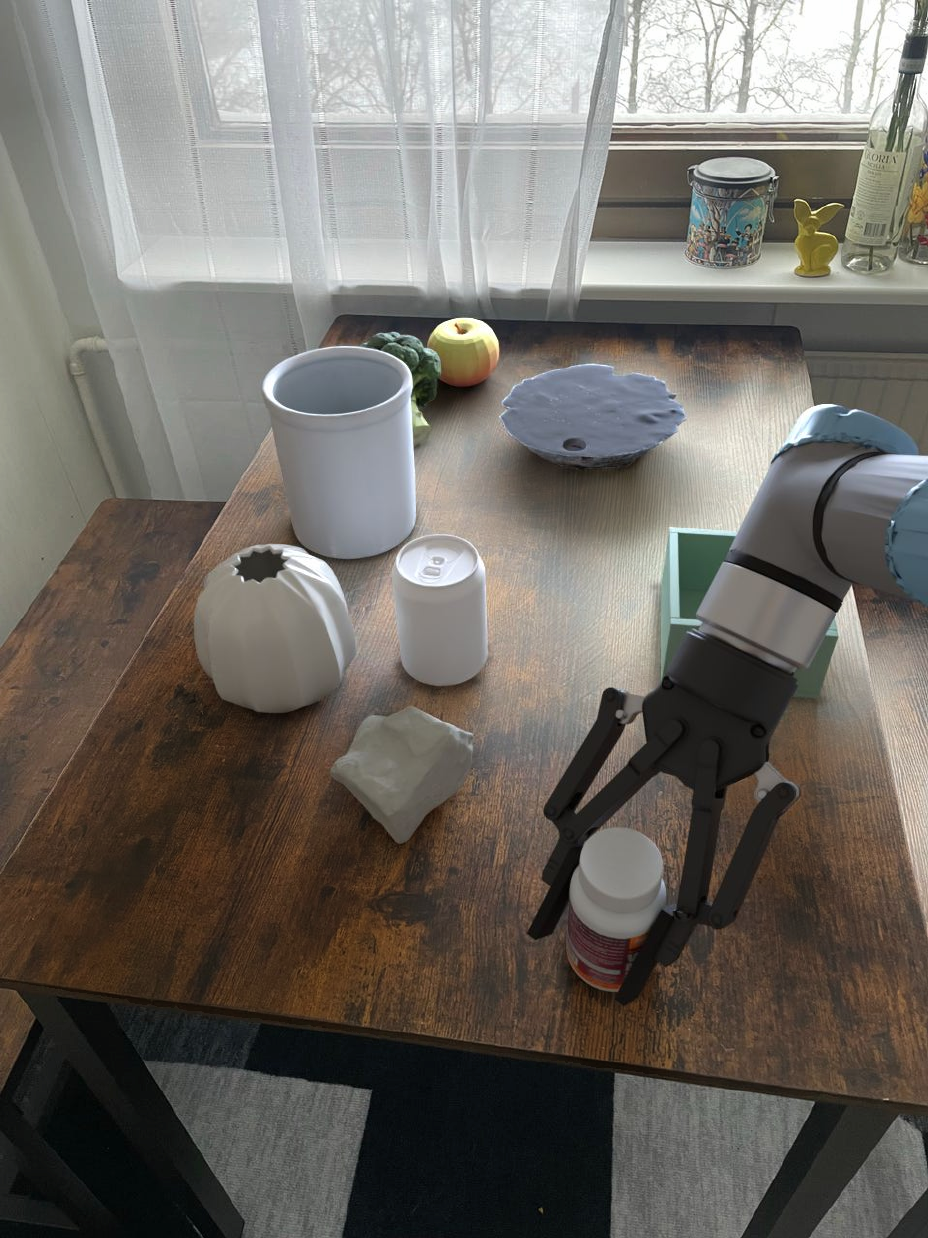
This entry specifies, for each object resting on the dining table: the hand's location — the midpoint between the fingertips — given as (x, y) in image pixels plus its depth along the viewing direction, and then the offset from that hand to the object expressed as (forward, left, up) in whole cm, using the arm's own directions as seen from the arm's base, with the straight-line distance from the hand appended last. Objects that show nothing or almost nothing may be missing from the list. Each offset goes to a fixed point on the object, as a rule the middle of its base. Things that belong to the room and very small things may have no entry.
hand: (582, 964), depth 60 cm
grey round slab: (+53, -45, -4) cm, 70 cm away
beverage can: (+32, -10, -4) cm, 34 cm away
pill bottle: (+1, -3, -4) cm, 5 cm away
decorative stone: (+22, +1, -4) cm, 22 cm away
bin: (+18, -33, -4) cm, 38 cm away
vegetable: (+71, -29, -4) cm, 77 cm away
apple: (+76, -42, -4) cm, 87 cm away
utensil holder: (+56, -14, -4) cm, 58 cm away
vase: (+39, +3, -4) cm, 39 cm away
